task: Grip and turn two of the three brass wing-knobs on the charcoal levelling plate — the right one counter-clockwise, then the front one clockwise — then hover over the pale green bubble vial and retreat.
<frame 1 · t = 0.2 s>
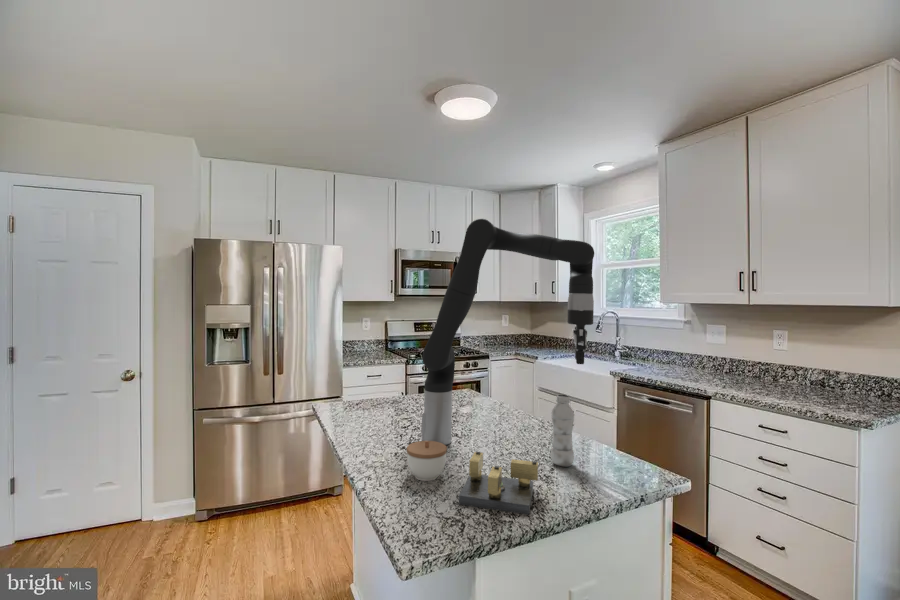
hand: (579, 362, 128), 29 cm above the counter, fingers open, 8 cm apart
knob B: (524, 472, 103), point 5 cm above the counter, hinge at 0.0°
levelling plate: (497, 496, 101), on the counter
plastic bottle: (562, 465, 121), on the counter
knob A: (476, 466, 106), point 5 cm above the counter, hinge at 0.0°
lidded jar: (426, 476, 112), on the counter
knob C: (494, 483, 97), point 5 cm above the counter, hinge at 0.0°
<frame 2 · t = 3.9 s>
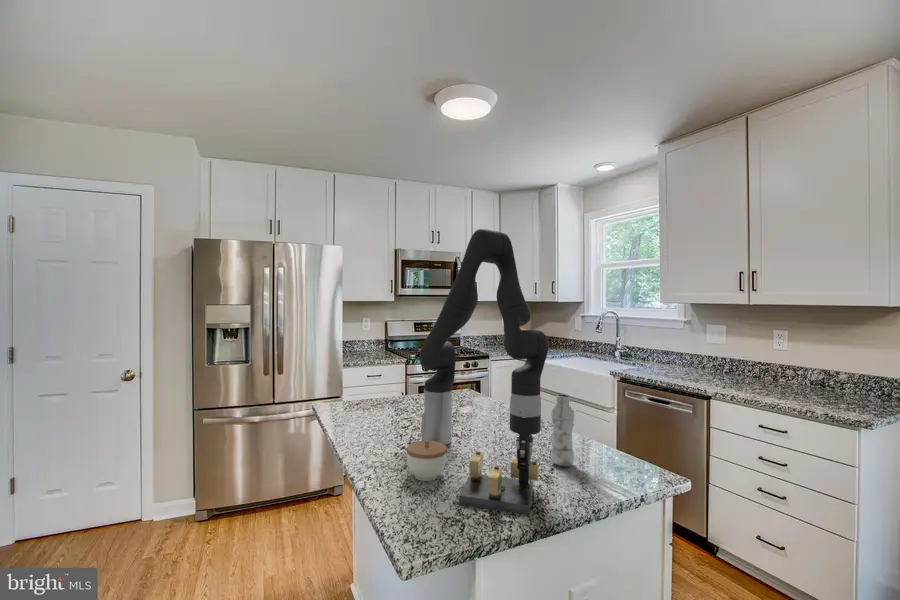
hand: (524, 481, 103), 3 cm above the counter, fingers closed on knob B, 3 cm apart
knob B: (524, 472, 103), point 5 cm above the counter, hinge at 0.0°, touching gripper
everything else where it was.
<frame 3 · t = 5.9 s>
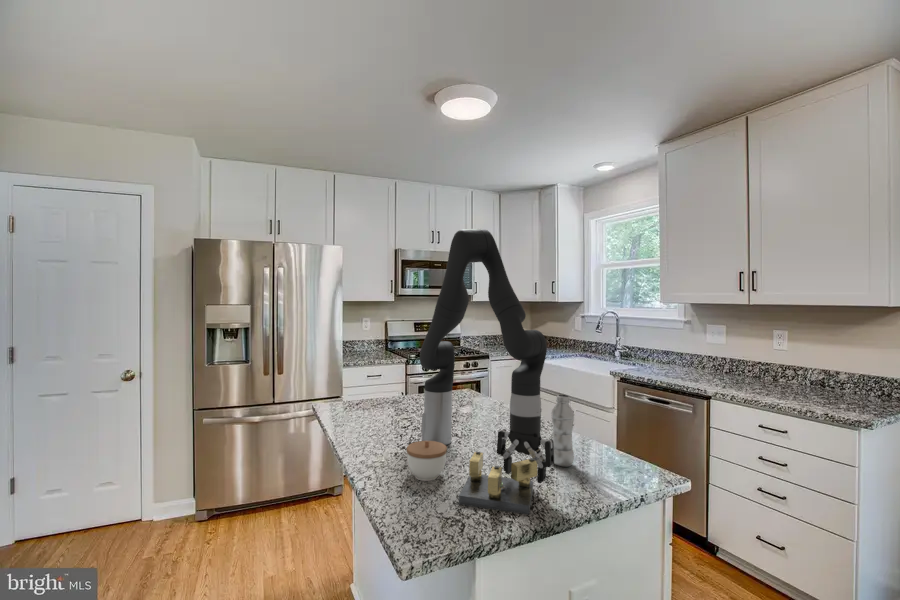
hand: (524, 477, 103), 4 cm above the counter, fingers open, 8 cm apart
knob B: (524, 472, 103), point 5 cm above the counter, hinge at 45.9°
everything else where it was.
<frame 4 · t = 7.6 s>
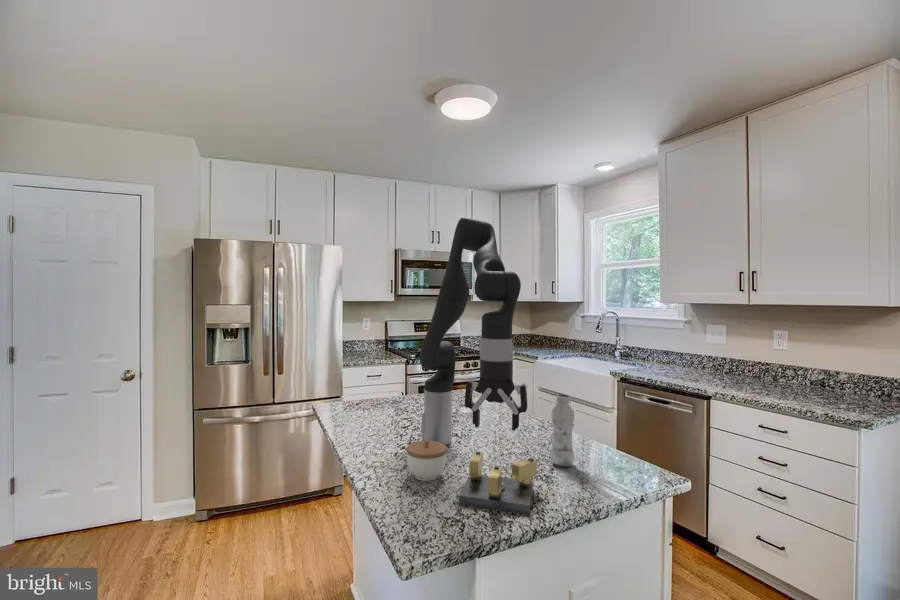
hand: (495, 428, 97), 18 cm above the counter, fingers open, 8 cm apart
knob B: (524, 472, 103), point 5 cm above the counter, hinge at 53.1°
everything else where it was.
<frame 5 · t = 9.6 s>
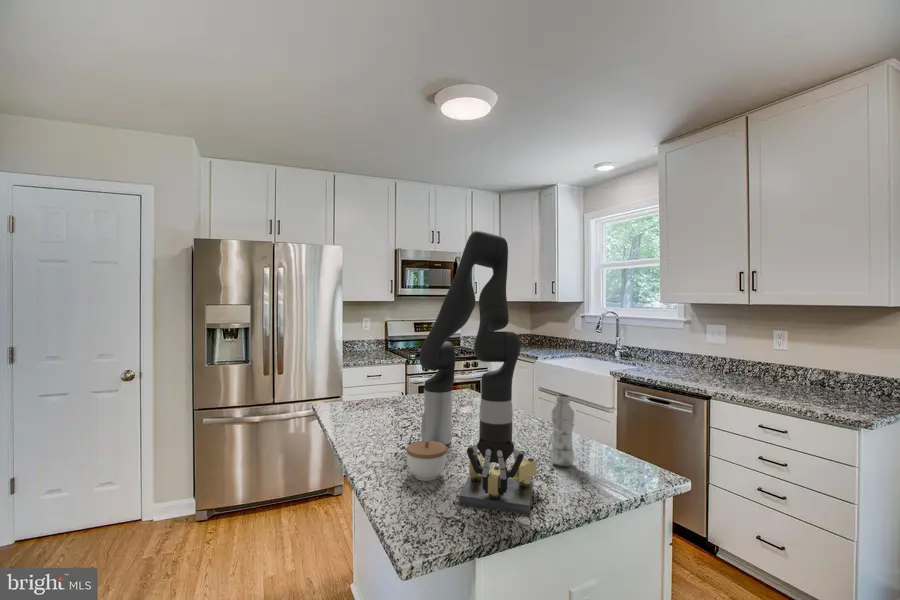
hand: (494, 492, 97), 3 cm above the counter, fingers closed on knob C, 3 cm apart
knob B: (524, 472, 103), point 5 cm above the counter, hinge at 54.9°
knob C: (494, 483, 97), point 5 cm above the counter, hinge at 0.0°, touching gripper
everything else where it was.
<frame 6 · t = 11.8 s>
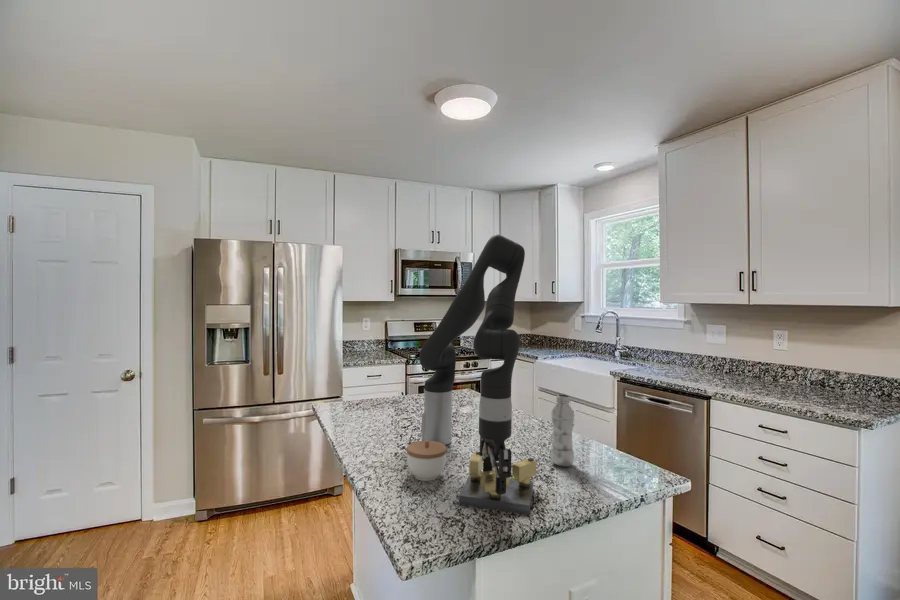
hand: (493, 485, 97), 4 cm above the counter, fingers open, 8 cm apart
knob B: (524, 472, 103), point 5 cm above the counter, hinge at 55.2°
knob C: (494, 483, 97), point 5 cm above the counter, hinge at -51.5°
everything else where it was.
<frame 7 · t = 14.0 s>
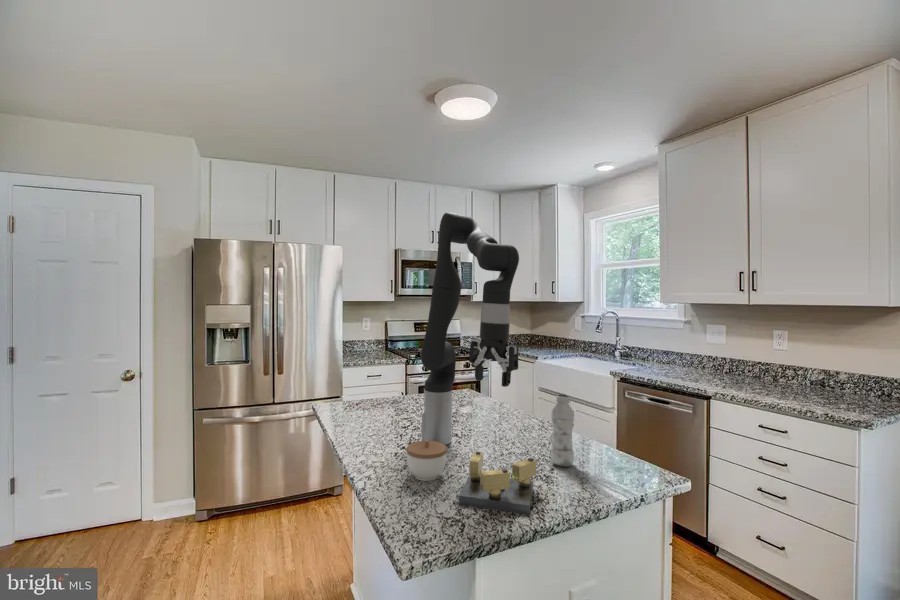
hand: (491, 383, 109), 26 cm above the counter, fingers open, 8 cm apart
knob C: (494, 483, 97), point 5 cm above the counter, hinge at -61.5°
everything else where it was.
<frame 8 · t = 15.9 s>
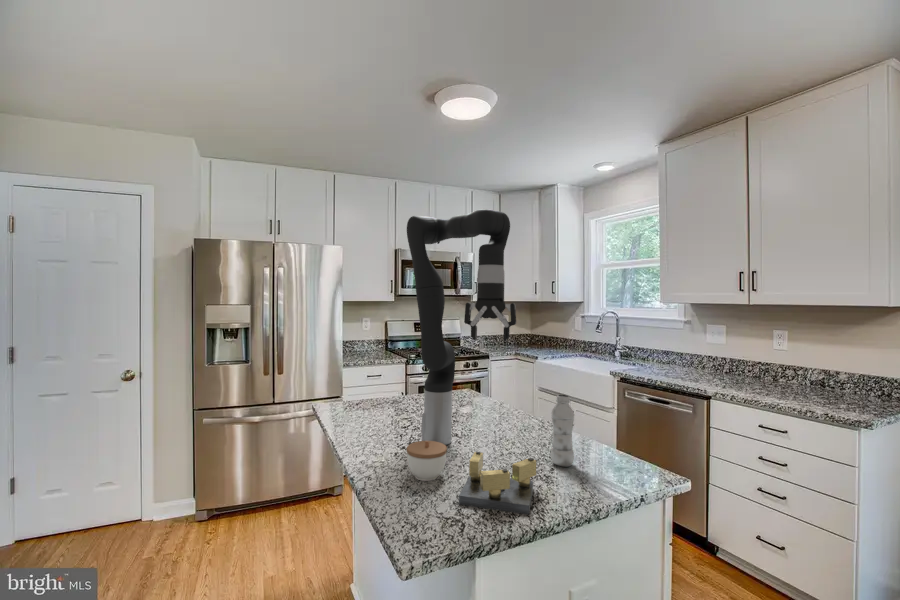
hand: (489, 340, 117), 36 cm above the counter, fingers open, 8 cm apart
knob C: (494, 483, 97), point 5 cm above the counter, hinge at -63.0°
everything else where it was.
at the end: knob B at +55° (first picture: +0°); knob C at -63° (first picture: +0°); knob A at +0° (first picture: +0°) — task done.
